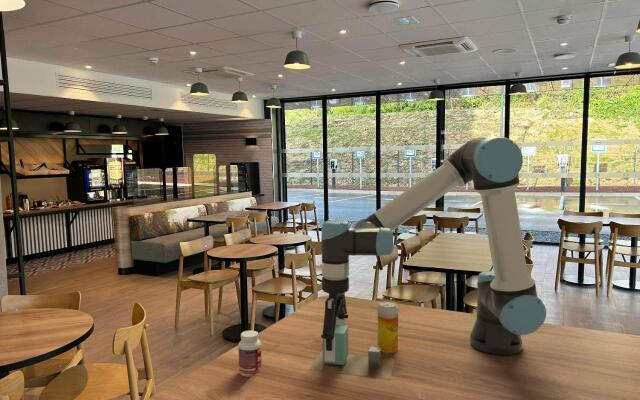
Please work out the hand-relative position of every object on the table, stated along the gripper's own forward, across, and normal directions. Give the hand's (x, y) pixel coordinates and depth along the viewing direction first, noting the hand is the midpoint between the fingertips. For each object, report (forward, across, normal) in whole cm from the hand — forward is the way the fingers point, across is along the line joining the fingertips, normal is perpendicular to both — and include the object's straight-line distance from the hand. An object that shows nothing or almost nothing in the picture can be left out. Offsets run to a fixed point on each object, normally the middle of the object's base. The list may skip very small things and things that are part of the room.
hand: (335, 350), depth 132 cm
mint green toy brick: (+2, 0, 0) cm, 2 cm away
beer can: (+5, -13, +13) cm, 19 cm away
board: (+5, 0, +5) cm, 7 cm away
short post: (+4, 0, +11) cm, 12 cm away
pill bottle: (+5, +9, -22) cm, 24 cm away
